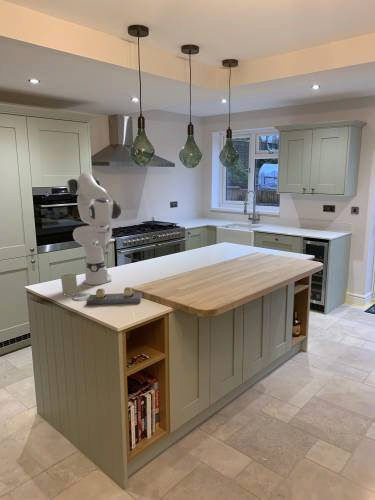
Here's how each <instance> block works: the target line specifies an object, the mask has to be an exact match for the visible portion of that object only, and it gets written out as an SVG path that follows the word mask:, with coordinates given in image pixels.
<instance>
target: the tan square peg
mask: <svg viewBox="0 0 375 500" xmlns="http://www.w3.org/2000/svg"><path fill="white" fill-rule="evenodd" d="M105 291H106V290H105V288H97V290H96V291H95V295H96V298H97V299H100V298H105V294H106V293H105Z"/></svg>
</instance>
